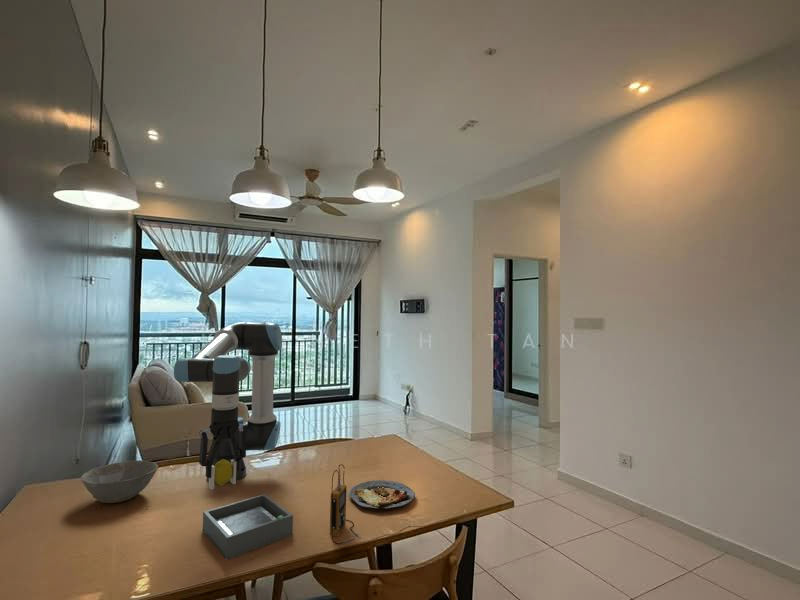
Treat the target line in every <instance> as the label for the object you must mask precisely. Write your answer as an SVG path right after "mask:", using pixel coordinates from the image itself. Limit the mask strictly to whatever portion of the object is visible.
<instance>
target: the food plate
mask: <svg viewBox="0 0 800 600" xmlns="http://www.w3.org/2000/svg"><path fill="white" fill-rule="evenodd" d="M378 487H379V488H378ZM382 487H384V488H390V489H394V490H395V491H394V490H393V492H391V493H392V494H388V493H389V492H388V491H387V489H384V488H382ZM371 489H373V491H374V492H375V493H374V492H372V490H371ZM390 489H389V490H390ZM400 491H404V493H402V492H400ZM376 492H377V493H378V494H377V493H376ZM401 493H402V494H401ZM347 495H348V496H349V497H350V498H351V499H352V501H354V502H355V503H356V504H357V505H358V506H360V507H363V508H365V509H366V508H367V509H374V510H390V509H395V508H398V507H399V508H400V507H405V506H406V505H409V504H410V502H412V501H414V500H415V499H416V493H415V491H414V490H413V489H412V488H410V487H409V486H407V485H406V484H404V483H402V482H399V481H394V480H381V479H378V480H369V481H365V482H360V483H358V484H356V485H354V486H352V487H350V489H349V490H348V494H347ZM379 495H381V496H383V497H386V501H385V499H384V500H383V499H382V498H383V497H382V498H380V497H379Z"/></svg>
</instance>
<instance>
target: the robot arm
mask: <svg viewBox="0 0 800 600" xmlns="http://www.w3.org/2000/svg"><path fill="white" fill-rule="evenodd" d="M282 348H283V335H282V331H281V328H280V325H279V324H278V323H276V322H268V321H265V322H263V321H262V322H261V321H257V322H256V321H249V322H247V321H239V322H236V323H232V324H231V323H230V324H229V325H227V326H224V327H223V328H221V329H219V330H218V331H217V332H215V333H214V335H213V338H212V340H210V341H209V342H208V343H207V344H205V345H204V346H203V347H202V348H201V349H200V350H198V351H197V353H195V354H194V355H193V356H192V357H191V358H190V357H185V358H183V357H182V358H178V359H177V360H176V361H175V364H174V367H173V377H174V379H175V381H177V382H182V383H212V385H211V386H212V387H211V389H212V391H211V392H212V393H211V411H210V413H211V415H210V425H209V426H208V428H207V429H205V430H203V429H202V430H200V431H199V436H200V449H199V457H198V459H199V460H198V463H199V465H200V466H201V467H205V477H206V479H207V481H208V488H209V489H210V490H211V491H212V490H215V482H214V479H215V464H216V463H217V462H218V461H220V460H222V459H225V460H227V461H229V462H230V463H231V465H232V476H231V479H230V480H229V481H228V482H227V483H231V484H232V485H236V483H237V481H238V480H241V479H242V478H243V477H245V476H246V474H247V466H246V463H245V460H244V458H246V456H247V451H265V452H266V451H272V450H275V448H276V447H277V445H278V441H279V437H280V431H281V426H282V425H281V421H277V415H276V414H274V381H275V379H274V377H275V376H274V375H275V373H274V372H275V368H274V367H275V358H276V357H277V356H278V354H279V351H281V350H282ZM236 350H237V351H239V350H241V351H248V356H249V357H250V358H252V372H251V365H250V362H249V361H248V360H247V359H246V358H243V357H240V356H238V355H232V354H228V353H232V352H233V351H236ZM250 373H252V377H251V379H252V380H251V415H249V417H248V418H247V421H245V419H244V418H243V417H241V416H239V407H238V406H239V402H240V399H239V398H240V382H241V381H243V380H245V379H246V378H247V377H248V376H249V375H250ZM210 433H211V435H212V436H213V437H212V439H211V445H210V448H209V451H208V442H209V440H208V439H209V437H210Z"/></svg>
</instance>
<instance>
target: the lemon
mask: <svg viewBox="0 0 800 600" xmlns="http://www.w3.org/2000/svg"><path fill="white" fill-rule="evenodd" d="M231 476H232V465H231V463H230V462H229V461H227V460H225V459H222V460H220V461H218V462H217V463H216V464H215V479H214V484H216V485H219V486H220V487H223V486H224V485H225V484H227V483H229V482H228V481H229V480H230V479H231Z"/></svg>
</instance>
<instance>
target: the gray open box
mask: <svg viewBox="0 0 800 600" xmlns="http://www.w3.org/2000/svg"><path fill="white" fill-rule="evenodd" d="M258 506H262V507H263V508H264V509H265V510H266V511H268V512H269V513H270V514H271V515H273V516H274V517H275V518H276V519H275V520H272V521H270V522H267V523H264V524H261V525H258V526H255V527H252V528H249V529H246V530H243V531H240V532H237V533H234V534H232V535H229V534H228V533H227V532H226V531H225V530H224V529H223V528H222V527H221V526H220V524H219V523H218V522H217V521H216V519H219V518H222V517H226V516H229V515H232V514H235V513H239V512H242V511H245V510H248V509H252V508H255V507H258ZM202 512H203V513H202V533H203V534H204V535H205V537H207V539H208V540H209V541H210V542H211V544H212V545H213V546H214V548H216V550H217V551H218V552H219V553H220V555H221V556H222V557H223V558H224V559H225V561H228V560H230V559H234V558H237V557H239V556H241V555H243V554H246V553H249V552H251V551H255V550H257V549H260V548H262V547H265V546H267V545H270V544H273V543H276V542H278V541H280V540H283V539H286V538H288V537H291V536H293V530H294V515H293V514H292V513H291V512H289V511H288V510H287V509H286V508H284V507H283V506H282V505H280V503H278V502H276V501H275V500H274V499H272V498H271V497H269V496H268V495H267V494H265V493H263V494H260V495H256V496H253V497H250V498H249V497H248V498H246V499H242V500H239V501H236V502H235V501H234V502H233V503H229V504H225V505H220V506H219V507H214V508H211V509H208V510H204V511H202Z"/></svg>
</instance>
